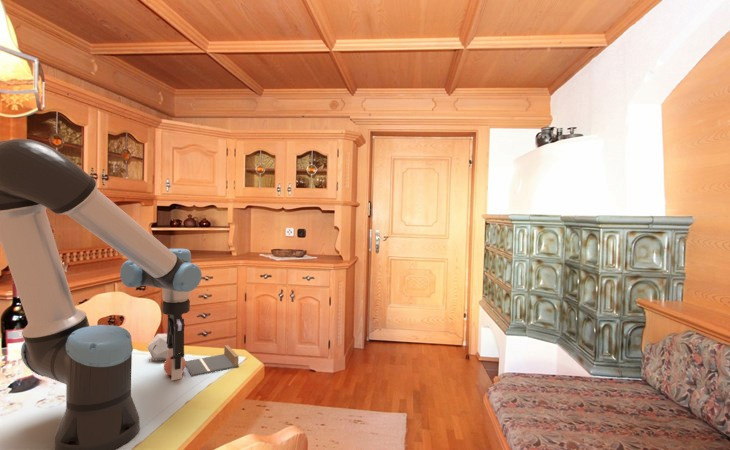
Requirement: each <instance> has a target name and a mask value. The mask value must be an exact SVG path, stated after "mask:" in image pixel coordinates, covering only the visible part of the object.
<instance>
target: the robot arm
mask: <svg viewBox="0 0 730 450" xmlns="http://www.w3.org/2000/svg"><path fill="white" fill-rule="evenodd" d="M47 209H48V210H50V211H51V212H52V213H54V214H56V215H59V216H60V215H66V216H68V217H69V218H70V219H72V220H73V221H75V222H76V223H77V224H79V225H80V226H81V227H83V228H85V229H86V230H87V231H89V232H90V233H91V234H92V235H94V236H95V237H97V238H99V239H100V240H101V241H103V243H106V244H107V245H108V246H110V247H111V248H112V249H113V250H115V252H118V253H119V254H121V255H122V256H123V257H125V258H126V259H127V260H126V261H124V262H123V263H122V264H121V266H120V270H119V272H120V274H119V275H120V280H121V282H122V285H124V287H127V288H140V287H143V286H144V287H151V288H152V287H154V288H159V289H161V290H162V295H161V297H162V298H161V299H162V302H161V312H162V314H163V315H167V328H166V329H167V330H166V331H167V332H166V334H167V342H166V343H167V344H168V345H167V347H168V348H169V349H168V353H167V359H168V358H169V357H170V356H172V355H173V357H170V359H172V376H171V381H175V380H181V379H183V371H182V358H184V357H185V325H186V324H185V320H184V319H185V318H183V316H182V315H184V314H187V313H189V312H190V310H191V309H190V308H191V307H190V306H191V300H190V297H191V292H192V291H195V289H197V287H198V286H199V285H200V284H201V280H202V279H203V278H202V270H201V268H200V267H199V266H198V265H197V264H196V263H192V254H191V251H190V249H187V248H168V247H167V246H166V245H164V244H163V243H162V242H161V241H160V240H159V239H157V238H156V237H155V236H154V235H152V233H150V232H149V231H148V230H147V229H146V228H144V227H143V226H141V224H140V223H138V222H137V221H136V219H135V220H134V218H133V217H131V216H130V215H129V214H127V213H126V211H124V210H123V209H122V208H120V207H119V206H118V205H117V204H116V203H115V202H114V201H112V200H111V199H110V198H108V197H107V196H106V195H105V194H104V193H103V192H101V191H100V190H99V189H98V182H97V181H96V180H95V179H94V178H93V177H92V176H90V174H88V173H87V172H86V171H85V170H83V169H82V168H81V167H80V166H78V165H77V163H75V162H74V161H72V160H71V159H70V158H68V157H67V156H65V155H64V154H63V153H62V152H60V151H59V150H57V149H56V148H54V147H52V146H50V145H48V144H45V143H43V142H40V141H37V140H34V139H28V138H14V139H8V140H0V245H1V249H2V251H3V254H4V257H5V260H6V262H7V266H8V268H9V271H10V274H11V278H12V280H13V282H14V285H15V289H16V291H17V295H18V297H19V300H20V304H21V305H22V308H23V312H24V314H25V318H26V321H27V325H26V326H25V327H24V328H23V330H22V331H21V334H22V337H23V341H24V342H23V343H22V345H21V348H20V349H21V350H20V355H21V359H22V362H23V364H24V365H25V367H26V368H28V369H29V370H30V371H31V372H33V373H34V374H36V375H38V376H41V377H46V378H48V379H51V380H53V381H57V382H58V383H61V384H64V385H66V389H65V391H66V393H65V394H66V395H65V397H66V406H65V411H64V414H63V417H62V419H61V423H60V424H59V427H58V430H57V432H56V435H55V441H54V449H55V450H116V449H118V448H120V447H122V446H124V445H125V444H126V443H128V442H130V441H132V439H134V438H135V436H136V435H137V434H138V433H139V430H140V421H141V420H140V415H139V412H138V410H137V407H136V405H135V403H134V400H133V397H132V367H133V366H132V364H133V362H132V360H133V357H132V356H133V355H132V354H133V349H134V347H133V341H132V335H131V333H130V332H129V330H128V329H126V328H124V327H121V326H118V325H112V324H110V325H106V324H95V325H90V322H89V320H88V317H87V313H86V311H84V310H81V309H78V308H76V305H75V303H74V302H75V301H74V299H73V296H72V291H71V290H70V289H71V288H70V286H69V282H68V280H67V276H66V273H65V270H64V266H63V263H62V259H61V257H60V252H59V250H58V245H57V242H56V240H55V236H54V233H53V230H52V226H51V223H50V220H49V217H48V213H47Z"/></svg>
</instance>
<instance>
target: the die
mask: <svg viewBox="0 0 730 450" xmlns="http://www.w3.org/2000/svg"><path fill="white" fill-rule="evenodd" d="M166 342H167V333H156V335H155V336H154V337H153V339H152V340H151V341H150V342H149V344H148V345H147V346H146V347H147V350H148V351H149V354H150V356H151V358H152V361H166V360H167V353H168V349H169V348H168V347H167V345H168V344H167V343H166Z"/></svg>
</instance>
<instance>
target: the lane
mask: <svg viewBox="0 0 730 450" xmlns="http://www.w3.org/2000/svg"><path fill="white" fill-rule="evenodd" d="M223 351H224V353H222V354H218V355H212V356H206V357H200V358H196V359H191V360H190V359H189V360H185V361H186V366H185V369H187V371H188V373H189V374H190V376H191V377H198V376H201V375H207V374H210V373H211V372H212V373H216V372H215V371H217V372H221V371H226V370H231V369H235V368H238V367H239V355H238V354H237V353H236V352H235V351H234V350H233V348H231V347H230V345H228V344H226V345H224V347H223ZM220 370H221V371H220ZM212 373H211V374H212Z"/></svg>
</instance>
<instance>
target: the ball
mask: <svg viewBox="0 0 730 450" xmlns="http://www.w3.org/2000/svg"><path fill="white" fill-rule="evenodd" d="M170 357H173V355H172V356H170ZM170 357H169V358H168V359H167V360H164V365H163V370H164V372H165V374H167V375H168V376H171V377H172V359H170ZM186 361H187V360H185V358H184V357H183V358H182V372H183V371H185V369H186Z"/></svg>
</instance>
